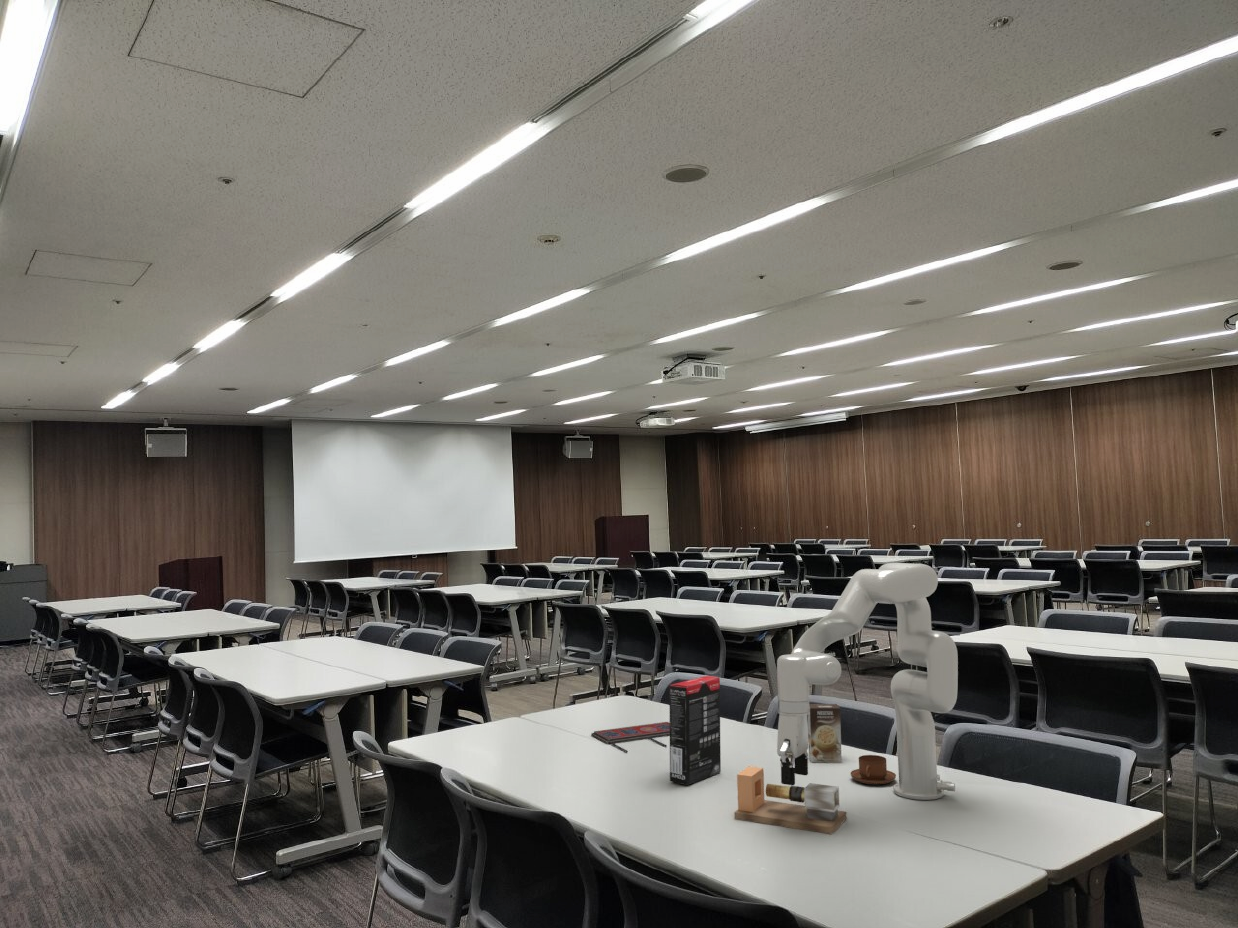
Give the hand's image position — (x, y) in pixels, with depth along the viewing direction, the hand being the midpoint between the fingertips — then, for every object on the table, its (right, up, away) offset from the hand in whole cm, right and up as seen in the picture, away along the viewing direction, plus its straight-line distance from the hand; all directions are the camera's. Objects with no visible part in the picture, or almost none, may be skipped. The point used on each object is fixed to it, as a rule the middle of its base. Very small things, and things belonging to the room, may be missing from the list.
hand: (794, 779), depth 209 cm
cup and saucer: (+27, -11, +29) cm, 42 cm away
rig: (-1, -10, +1) cm, 10 cm away
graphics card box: (-20, -13, +36) cm, 43 cm away
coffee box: (+19, -13, +51) cm, 56 cm away
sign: (-33, -17, +82) cm, 90 cm away
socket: (-10, -9, +6) cm, 14 cm away
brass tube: (+1, -5, 0) cm, 5 cm away
